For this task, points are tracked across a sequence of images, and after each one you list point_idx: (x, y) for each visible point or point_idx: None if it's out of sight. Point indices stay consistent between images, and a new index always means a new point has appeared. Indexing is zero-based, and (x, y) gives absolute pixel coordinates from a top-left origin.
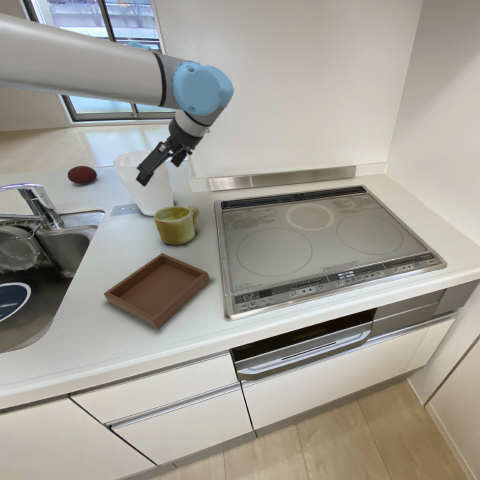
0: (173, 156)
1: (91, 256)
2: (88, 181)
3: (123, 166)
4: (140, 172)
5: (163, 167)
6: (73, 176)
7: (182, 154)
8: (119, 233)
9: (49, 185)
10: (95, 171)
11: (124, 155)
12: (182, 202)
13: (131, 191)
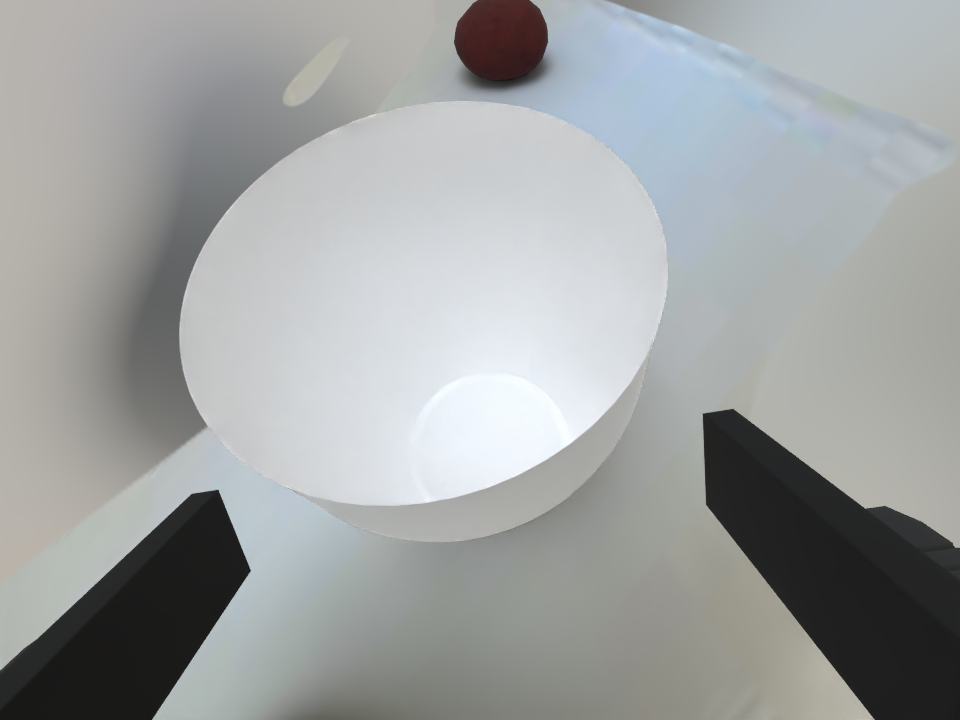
0: (760, 467)
1: (99, 515)
2: (496, 76)
3: (417, 189)
4: (75, 614)
5: (524, 506)
6: (460, 38)
7: (897, 692)
8: (254, 471)
9: (435, 32)
10: (543, 39)
11: (441, 118)
12: (606, 516)
13: (324, 395)
